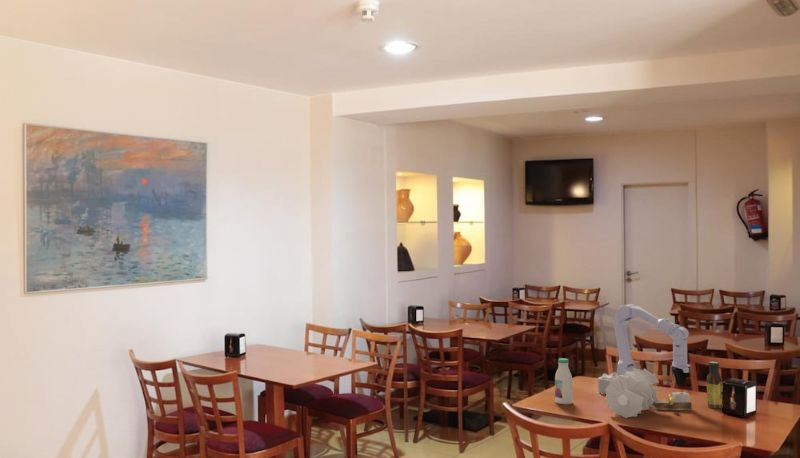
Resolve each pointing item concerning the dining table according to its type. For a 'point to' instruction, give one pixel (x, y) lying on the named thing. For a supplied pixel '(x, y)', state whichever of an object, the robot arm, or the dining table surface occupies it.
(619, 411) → the spiral staircase
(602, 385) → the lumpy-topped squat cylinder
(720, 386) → the sauce bottle
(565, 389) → the milk bottle
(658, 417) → the dining table surface
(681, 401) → the white block with knob
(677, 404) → the tan flat board
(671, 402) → the lever
